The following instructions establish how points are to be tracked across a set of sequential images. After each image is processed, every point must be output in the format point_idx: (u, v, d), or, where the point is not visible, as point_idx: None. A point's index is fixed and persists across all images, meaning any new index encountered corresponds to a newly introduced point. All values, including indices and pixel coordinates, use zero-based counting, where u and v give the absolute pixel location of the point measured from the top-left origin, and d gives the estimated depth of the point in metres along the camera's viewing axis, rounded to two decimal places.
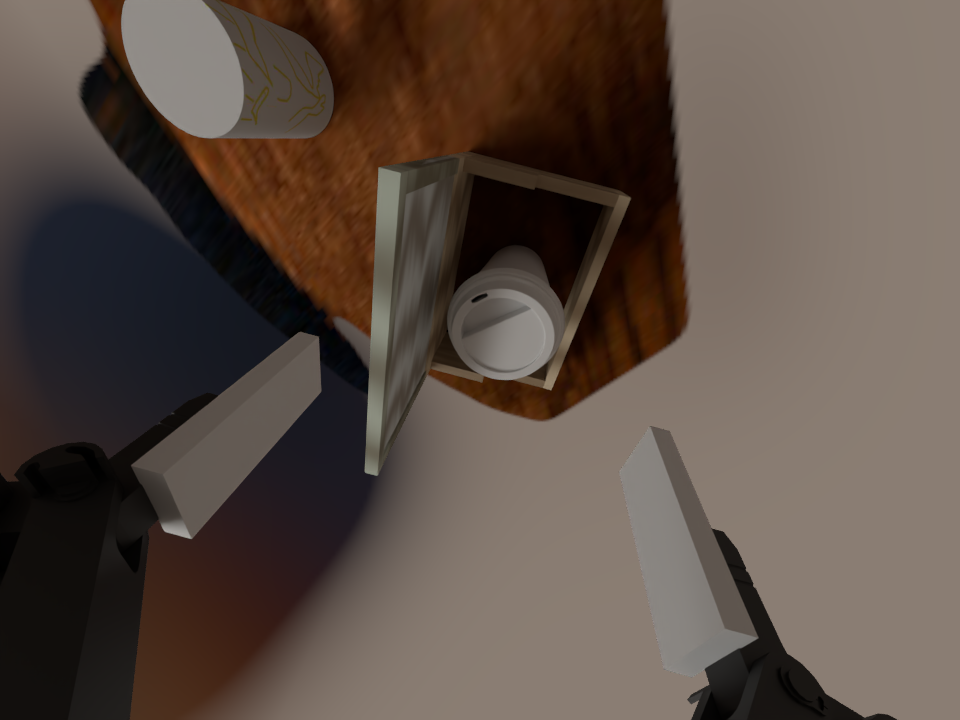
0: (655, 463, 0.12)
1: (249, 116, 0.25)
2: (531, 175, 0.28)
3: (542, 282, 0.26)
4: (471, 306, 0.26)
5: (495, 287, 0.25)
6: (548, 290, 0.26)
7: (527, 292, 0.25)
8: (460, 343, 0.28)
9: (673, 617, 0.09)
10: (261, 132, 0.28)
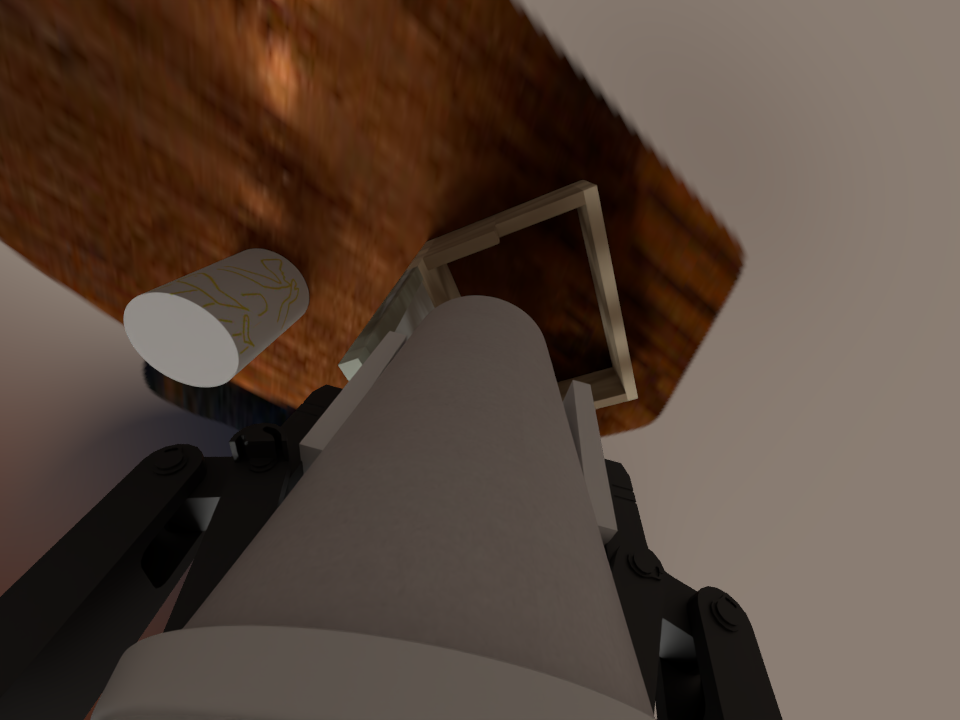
0: (571, 409, 0.14)
1: (245, 346, 0.28)
2: (488, 233, 0.26)
3: (107, 683, 0.05)
4: None
5: None
6: (98, 704, 0.04)
7: None
8: None
9: None
10: (262, 346, 0.31)
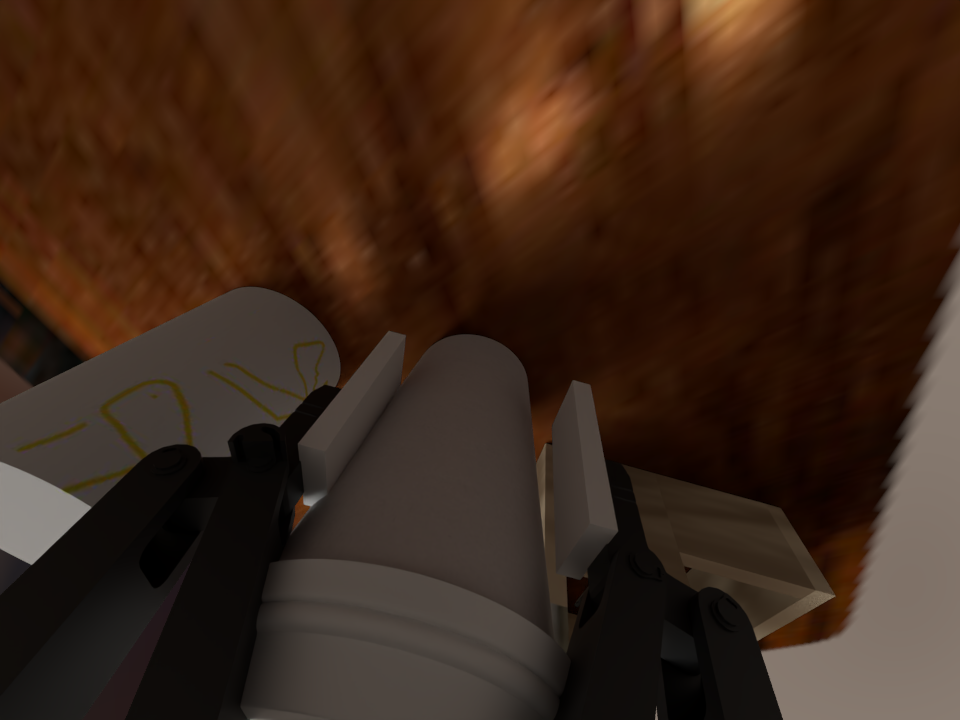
0: (571, 409, 0.14)
1: None
2: None
3: None
4: None
5: None
6: None
7: None
8: None
9: (565, 529, 0.11)
10: None
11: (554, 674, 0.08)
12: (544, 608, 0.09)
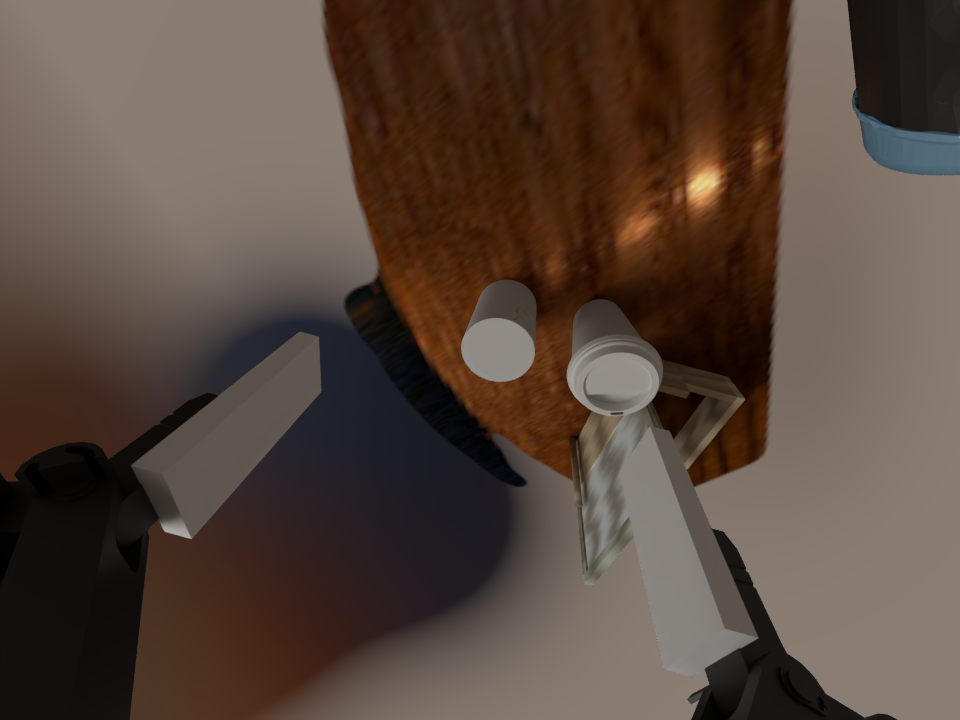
0: (655, 463, 0.12)
1: None
2: (685, 391, 0.44)
3: (573, 394, 0.39)
4: (625, 410, 0.37)
5: None
6: None
7: (584, 404, 0.38)
8: (652, 389, 0.35)
9: (673, 617, 0.09)
10: None
11: (660, 361, 0.35)
12: None
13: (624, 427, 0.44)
